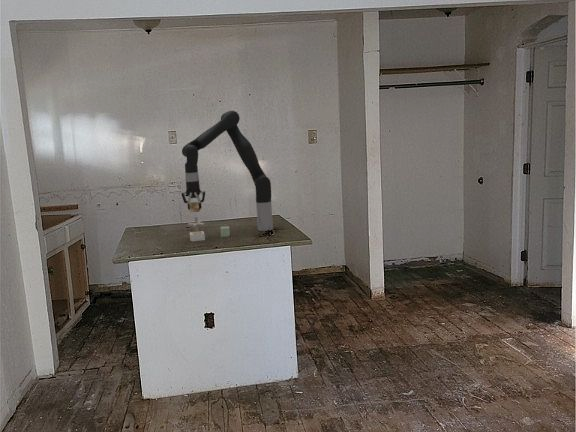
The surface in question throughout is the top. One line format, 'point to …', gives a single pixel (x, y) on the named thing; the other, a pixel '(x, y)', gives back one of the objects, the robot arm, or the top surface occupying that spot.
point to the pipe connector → (196, 224)
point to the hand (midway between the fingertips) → (194, 209)
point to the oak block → (194, 207)
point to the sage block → (225, 231)
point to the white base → (197, 236)
